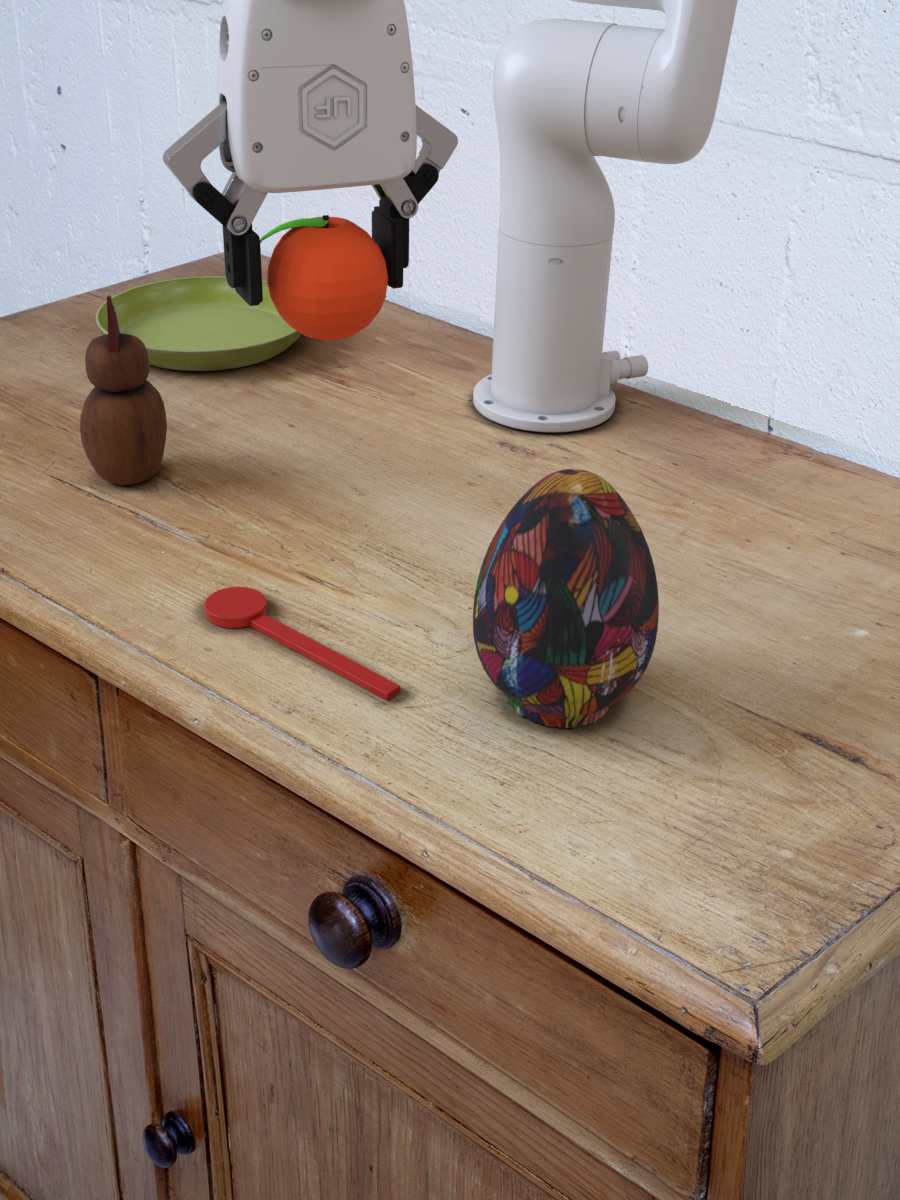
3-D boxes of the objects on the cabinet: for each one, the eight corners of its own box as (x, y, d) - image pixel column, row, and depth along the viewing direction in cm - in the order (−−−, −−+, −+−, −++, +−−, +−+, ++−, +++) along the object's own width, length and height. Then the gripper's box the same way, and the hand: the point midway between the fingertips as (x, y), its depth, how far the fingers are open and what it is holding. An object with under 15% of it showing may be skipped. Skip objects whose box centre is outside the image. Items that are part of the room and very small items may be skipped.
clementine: (253, 362, 74) (244, 236, 70) (251, 320, 79) (242, 201, 76) (395, 355, 75) (393, 230, 71) (383, 314, 80) (380, 196, 77)
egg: (632, 649, 84) (658, 433, 76) (661, 753, 75) (693, 520, 67) (465, 648, 83) (474, 431, 75) (474, 753, 74) (484, 519, 66)
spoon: (416, 682, 80) (416, 671, 80) (371, 711, 77) (371, 700, 77) (238, 590, 89) (237, 579, 88) (192, 613, 86) (191, 602, 86)
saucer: (141, 299, 138) (138, 269, 136) (334, 314, 136) (334, 283, 134) (65, 372, 120) (61, 339, 119) (285, 390, 118) (284, 356, 116)
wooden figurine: (147, 498, 100) (127, 307, 92) (76, 489, 100) (50, 299, 93) (181, 461, 105) (164, 277, 97) (113, 453, 106) (92, 270, 98)
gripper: (160, -37, 60) (189, 330, 70) (497, -43, 67) (483, 292, 76) (122, -54, 66) (153, 287, 75) (436, -58, 73) (430, 256, 82)
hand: (319, 288), depth 76 cm, fingers closed on clementine, 8 cm apart
